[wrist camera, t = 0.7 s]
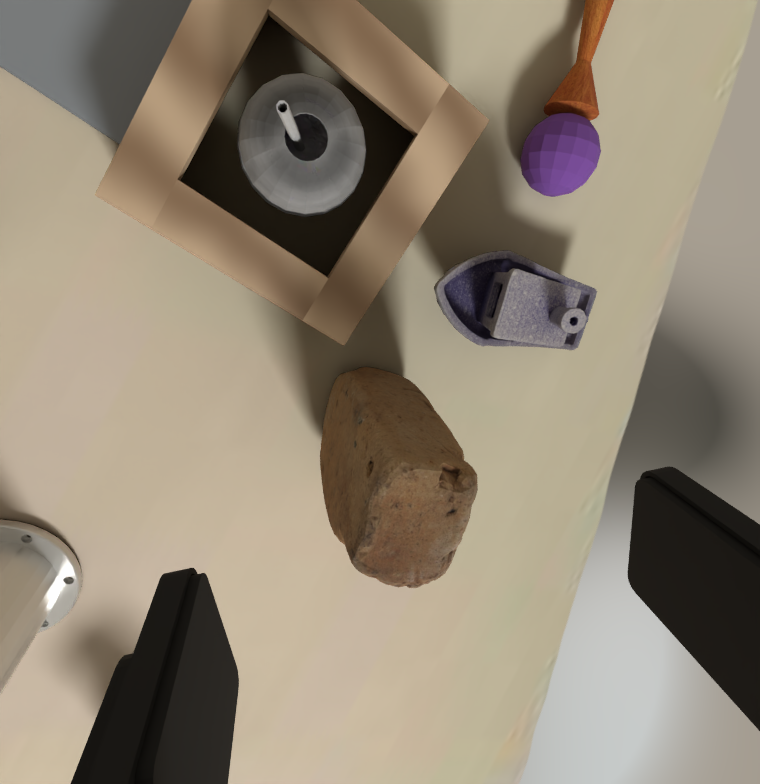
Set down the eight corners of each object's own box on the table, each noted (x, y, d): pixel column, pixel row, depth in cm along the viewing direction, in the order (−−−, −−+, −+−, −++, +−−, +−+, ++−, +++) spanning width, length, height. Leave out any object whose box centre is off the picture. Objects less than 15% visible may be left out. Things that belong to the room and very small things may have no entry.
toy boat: (581, 272, 45) (678, 288, 33) (553, 352, 47) (633, 395, 35) (429, 233, 42) (471, 234, 30) (407, 320, 45) (438, 354, 32)
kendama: (688, -97, 34) (603, 201, 38) (618, -52, 39) (551, 205, 43) (630, -145, 31) (546, 180, 35) (564, -89, 36) (498, 188, 41)
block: (340, 351, 44) (383, 448, 25) (416, 372, 46) (507, 477, 27) (307, 456, 46) (324, 613, 28) (379, 471, 48) (439, 627, 30)
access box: (333, 324, 43) (343, 345, 35) (132, 199, 36) (94, 194, 29) (450, 139, 39) (489, 120, 32) (252, -31, 33) (243, -103, 26)
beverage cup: (327, 230, 40) (366, 239, 21) (239, 198, 38) (197, 177, 19) (355, 138, 38) (424, 61, 19) (263, 99, 36) (243, -29, 17)
